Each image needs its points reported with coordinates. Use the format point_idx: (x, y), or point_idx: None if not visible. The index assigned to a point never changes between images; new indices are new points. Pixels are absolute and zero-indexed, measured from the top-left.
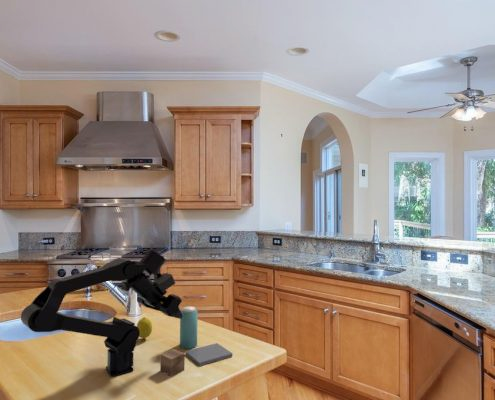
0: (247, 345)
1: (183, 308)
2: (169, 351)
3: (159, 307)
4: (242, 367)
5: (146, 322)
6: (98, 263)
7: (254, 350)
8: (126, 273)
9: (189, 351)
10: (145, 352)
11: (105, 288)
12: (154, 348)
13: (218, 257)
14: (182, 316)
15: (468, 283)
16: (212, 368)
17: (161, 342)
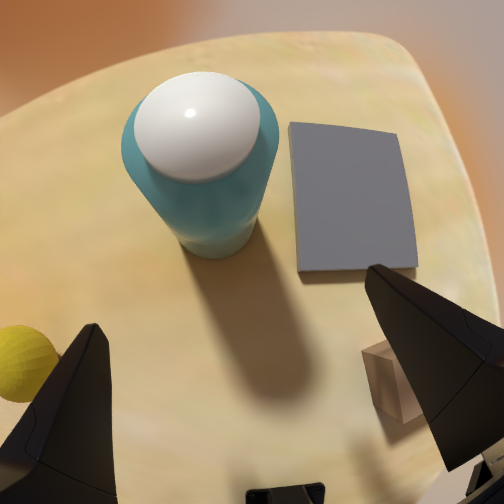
0: (332, 62)
1: (168, 159)
2: (402, 385)
3: (95, 423)
4: (456, 164)
5: (19, 372)
6: None
7: (374, 72)
8: None
9: (312, 256)
10: (181, 412)
11: None
12: (159, 366)
13: None
14: (379, 267)
15: None
16: (439, 238)
17: (112, 311)
